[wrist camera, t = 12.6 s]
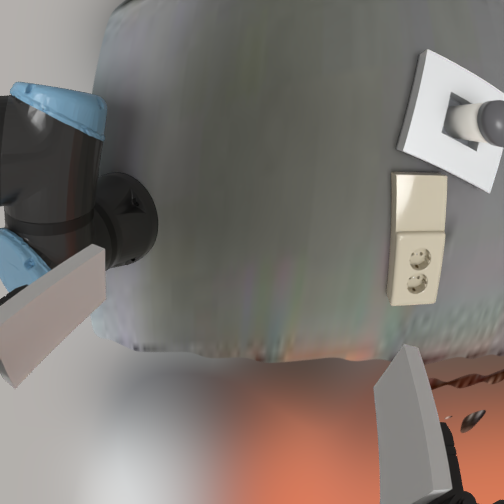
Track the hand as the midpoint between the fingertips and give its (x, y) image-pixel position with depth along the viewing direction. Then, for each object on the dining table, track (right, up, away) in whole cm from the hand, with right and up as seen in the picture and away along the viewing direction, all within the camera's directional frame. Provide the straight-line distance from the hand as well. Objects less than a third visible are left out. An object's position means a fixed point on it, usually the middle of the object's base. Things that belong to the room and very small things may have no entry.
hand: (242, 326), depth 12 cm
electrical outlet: (+23, +5, +26) cm, 35 cm away
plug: (+27, +20, +18) cm, 38 cm away
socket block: (+27, +20, +18) cm, 38 cm away
